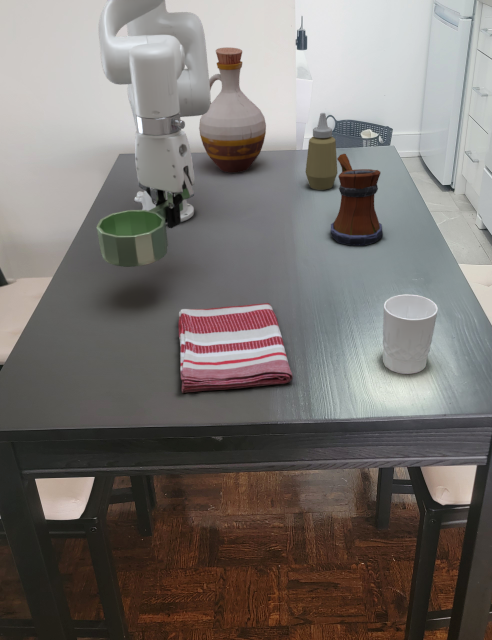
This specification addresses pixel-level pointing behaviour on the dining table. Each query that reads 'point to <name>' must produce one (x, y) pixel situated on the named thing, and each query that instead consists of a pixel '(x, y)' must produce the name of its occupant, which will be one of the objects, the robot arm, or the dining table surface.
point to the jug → (232, 119)
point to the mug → (356, 206)
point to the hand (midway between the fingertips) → (169, 223)
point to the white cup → (408, 332)
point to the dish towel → (231, 348)
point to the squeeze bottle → (321, 157)
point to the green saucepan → (134, 236)
